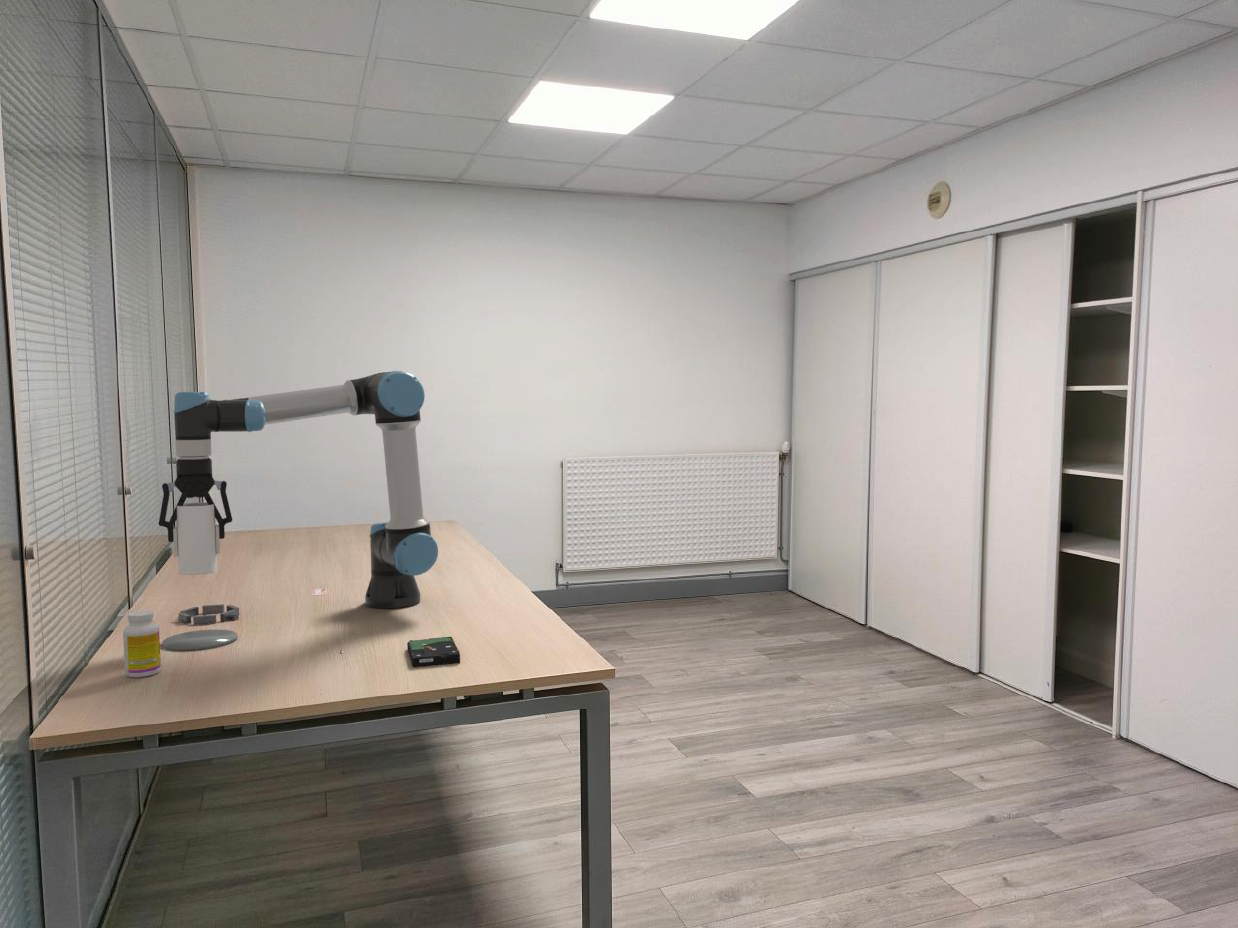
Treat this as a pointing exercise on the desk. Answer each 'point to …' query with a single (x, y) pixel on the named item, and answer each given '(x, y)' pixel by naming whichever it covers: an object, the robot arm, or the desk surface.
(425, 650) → the disk drive
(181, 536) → the cup
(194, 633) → the coaster
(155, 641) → the supplement bottle
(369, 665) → the desk surface
